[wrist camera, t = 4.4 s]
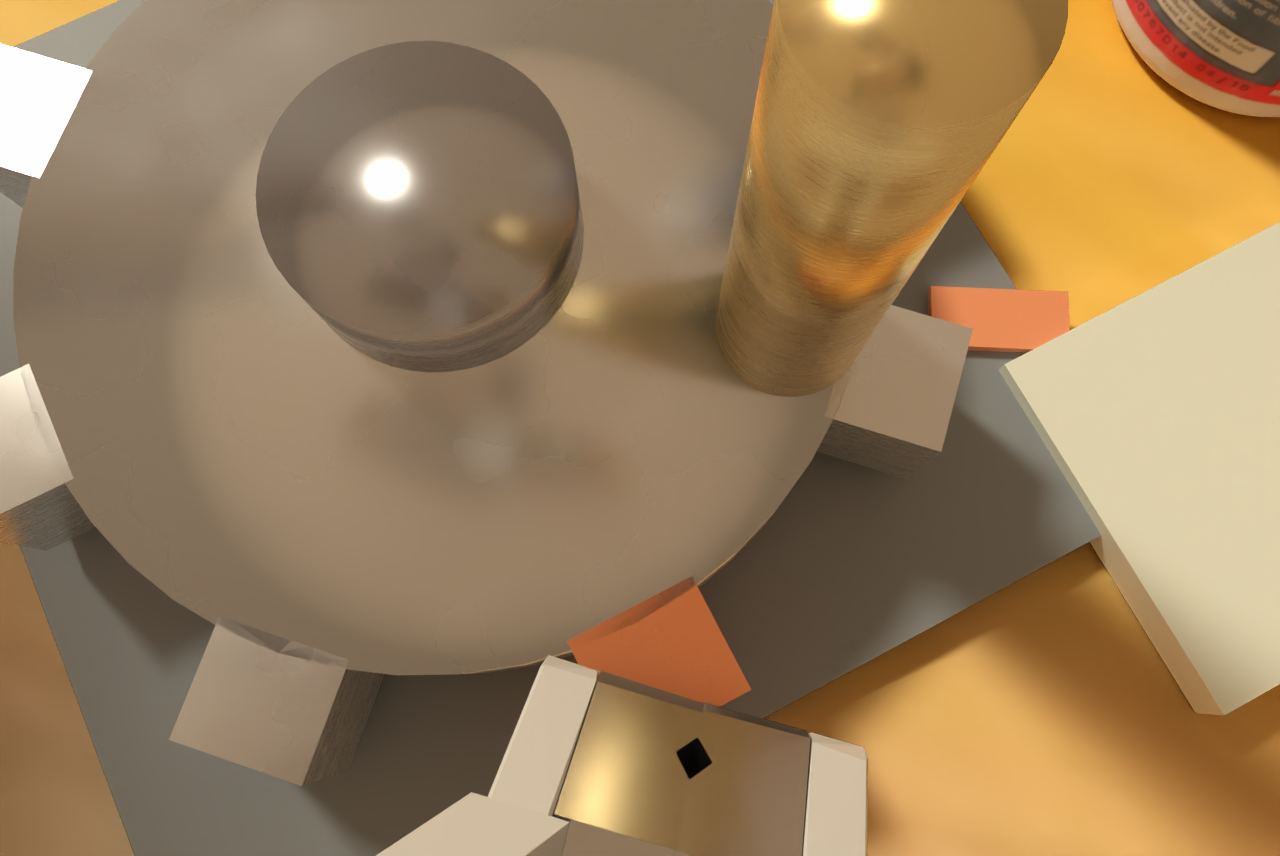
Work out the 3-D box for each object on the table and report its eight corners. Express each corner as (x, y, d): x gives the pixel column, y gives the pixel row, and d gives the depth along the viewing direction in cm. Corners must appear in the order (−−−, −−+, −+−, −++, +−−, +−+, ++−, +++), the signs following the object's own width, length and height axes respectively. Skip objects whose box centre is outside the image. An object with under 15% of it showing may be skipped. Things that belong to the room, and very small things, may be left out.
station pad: (988, 378, 17) (1004, 364, 16) (1288, 222, 17) (1317, 202, 16) (1195, 712, 15) (1224, 715, 15) (1511, 533, 16) (1555, 526, 15)
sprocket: (-118, 110, 17) (-943, -484, 8) (663, -229, 18) (674, -1046, 10) (206, 972, 14) (-560, 1498, 5) (1116, 483, 15) (1740, 237, 7)
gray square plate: (-119, 128, 18) (-149, 107, 17) (703, -231, 20) (705, -263, 19) (212, 1013, 15) (191, 1029, 14) (1172, 493, 16) (1194, 485, 16)
